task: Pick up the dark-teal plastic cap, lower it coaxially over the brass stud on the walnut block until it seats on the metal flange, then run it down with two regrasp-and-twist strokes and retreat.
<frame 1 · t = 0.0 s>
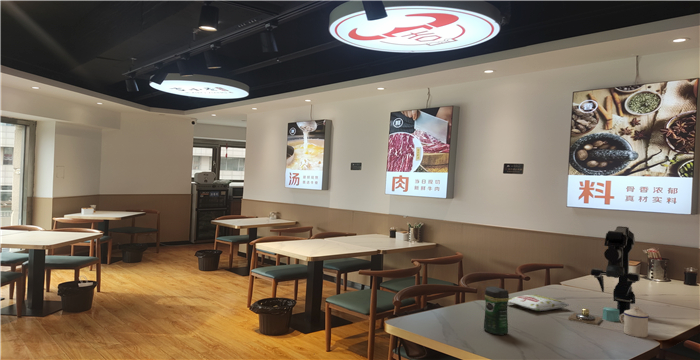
hand: (614, 293, 207), 15 cm above the table, fingers open, 9 cm apart
stud block: (585, 319, 216), on the table
cap: (610, 319, 218), on the table
teacup with lid: (632, 333, 198), on the table
coffee jar: (495, 332, 192), on the table
frozen beans: (536, 308, 236), on the table
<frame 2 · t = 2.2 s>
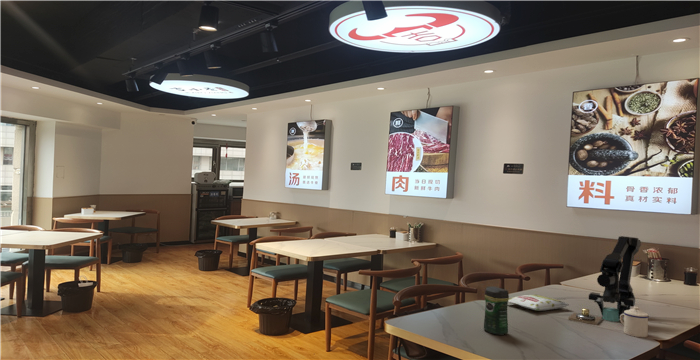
hand: (610, 317, 218), 1 cm above the table, fingers closed on cap, 6 cm apart
cap: (610, 319, 218), on the table, touching gripper
everything else where it was.
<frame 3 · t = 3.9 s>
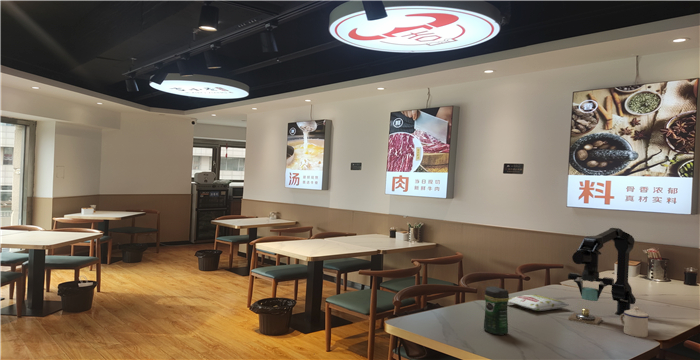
hand: (589, 297, 216), 11 cm above the table, fingers closed on cap, 6 cm apart
cap: (589, 299, 216), point 10 cm above the table, touching gripper
everything else where it was.
when the fingers open (5 cm above the table, at t = 5.7 s): cap drops 2 cm, resting on stud block.
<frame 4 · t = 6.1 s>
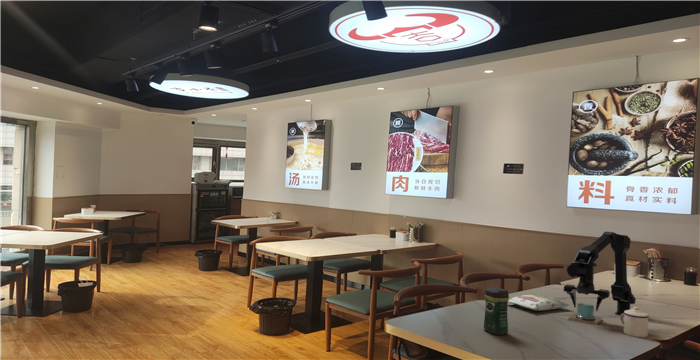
hand: (585, 309, 216), 5 cm above the table, fingers open, 9 cm apart
cap: (585, 315, 216), point 2 cm above the table, touching stud block
everything else where it was.
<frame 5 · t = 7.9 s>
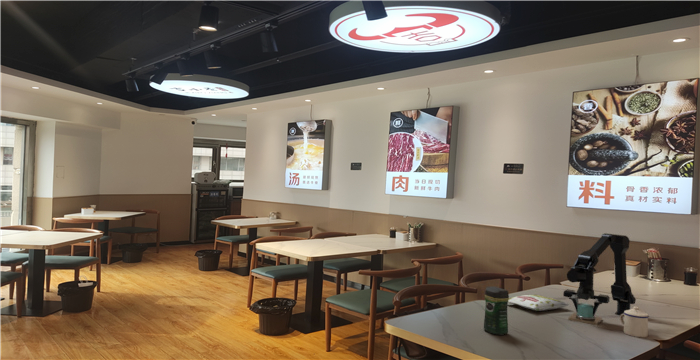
hand: (585, 314, 216), 3 cm above the table, fingers closed on cap, 6 cm apart
cap: (585, 315, 216), point 2 cm above the table, touching gripper, stud block
everything else where it was.
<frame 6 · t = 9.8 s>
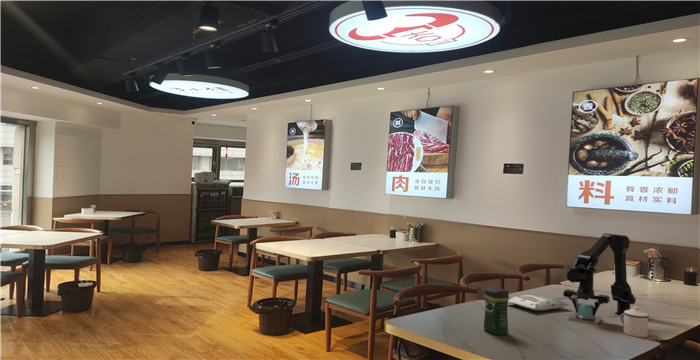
hand: (585, 314, 216), 3 cm above the table, fingers closed on cap, 7 cm apart
cap: (585, 315, 216), point 2 cm above the table, touching gripper
everything else where it was.
when the fingers open (3 cm above the table, at t = 11.5 s): cap stays where it is, resting on stud block.
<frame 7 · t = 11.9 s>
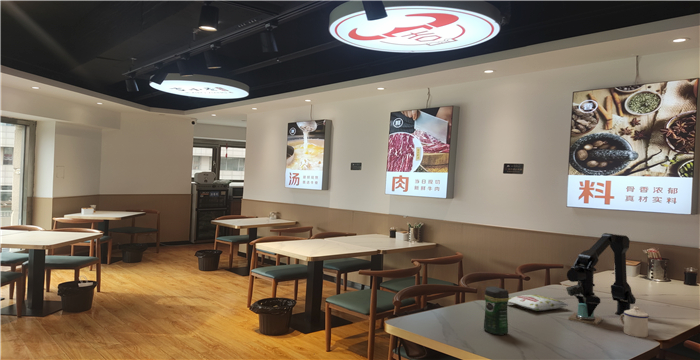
hand: (585, 313, 216), 3 cm above the table, fingers open, 9 cm apart
cap: (585, 315, 216), point 2 cm above the table, touching stud block
everything else where it was.
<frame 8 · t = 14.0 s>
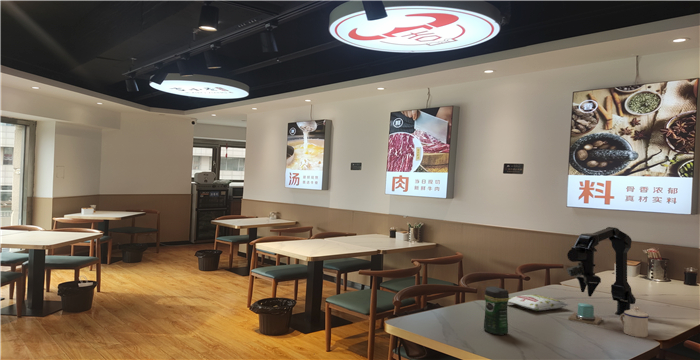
hand: (586, 294, 216), 12 cm above the table, fingers open, 9 cm apart
nothing on the table moved.
at the end: cap 0.0 cm off-centre on the stud block, point 2.0 cm above the stud block's base; cap tilted 0°; the gripper is holding nothing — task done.
